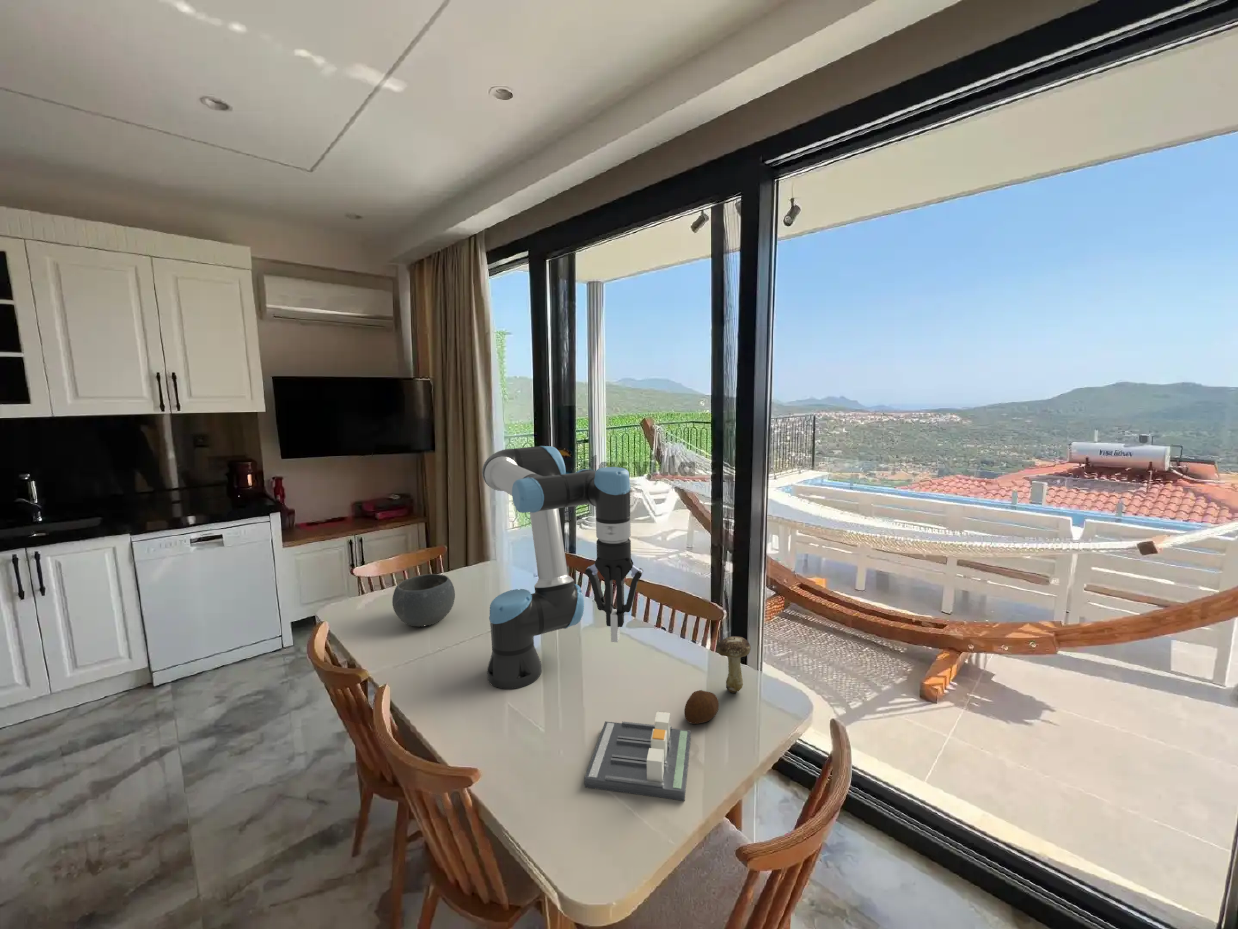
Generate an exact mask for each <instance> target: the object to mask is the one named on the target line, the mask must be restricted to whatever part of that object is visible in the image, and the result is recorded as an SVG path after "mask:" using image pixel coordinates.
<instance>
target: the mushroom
mask: <svg viewBox="0 0 1238 929" xmlns="http://www.w3.org/2000/svg"><path fill="white" fill-rule="evenodd" d="M751 649H752V648H751V644H750V642H749V641H748V640H747V639H746V638H744V637H743V636H738V635H737V636H736V635H735V636H734V635H732V636H728V637H725V638H723V639H722V640H720V641H719V642H718V643H717V645H716V651H717V653H718V654H719V655H720V656H722V657H727V659H728V662H727V665H728V666H727V670H728V674H727V678H726V680H725V689H726V690H727V691H728V692H729V693H731V694H736V693H737V692H740V690H741V689H743V685H744V680H743V674H742V667H741V662H742V661H741V658H743V657H747V656H748V655H749V654H750V653H751Z"/></svg>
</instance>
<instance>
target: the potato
mask: <svg viewBox="0 0 1238 929" xmlns="http://www.w3.org/2000/svg"><path fill="white" fill-rule="evenodd" d="M719 707H720V703H719V699H718V697H717V696H716V694H715V693H713V692H711V691H707V690H706V691H705V690H702V689H701V690H697V691H695V690H694V692H692V693H691V695H690V696H689V697H688V698H687V700H686V703H685V705H684V712H683V713H684V718H685V719H686V722H687V723H690V724H693V725H697V724H702V723H707V722H709V721H710V720H712V719H713V718H714V717H715V716H716V715H717V714H718V712H719Z"/></svg>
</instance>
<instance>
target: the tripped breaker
mask: <svg viewBox="0 0 1238 929" xmlns="http://www.w3.org/2000/svg"><path fill="white" fill-rule="evenodd" d="M651 748H654V749H663V750H664V761H666V755H667V730H661V729H653V732H652V736H651Z"/></svg>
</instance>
